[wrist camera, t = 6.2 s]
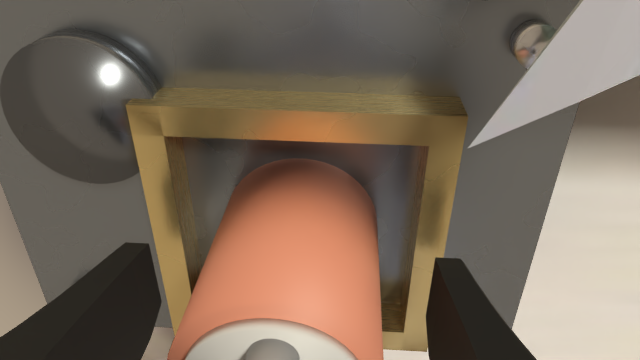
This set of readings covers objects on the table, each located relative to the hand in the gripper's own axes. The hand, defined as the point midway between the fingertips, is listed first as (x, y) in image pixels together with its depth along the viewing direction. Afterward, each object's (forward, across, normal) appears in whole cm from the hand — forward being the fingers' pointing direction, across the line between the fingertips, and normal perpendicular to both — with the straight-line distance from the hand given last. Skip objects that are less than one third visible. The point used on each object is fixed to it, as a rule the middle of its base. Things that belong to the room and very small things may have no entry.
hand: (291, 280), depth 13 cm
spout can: (+3, 0, 0) cm, 3 cm away
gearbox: (+6, +1, -1) cm, 6 cm away
